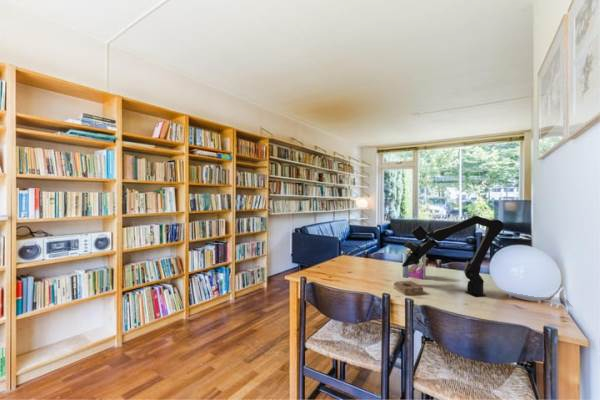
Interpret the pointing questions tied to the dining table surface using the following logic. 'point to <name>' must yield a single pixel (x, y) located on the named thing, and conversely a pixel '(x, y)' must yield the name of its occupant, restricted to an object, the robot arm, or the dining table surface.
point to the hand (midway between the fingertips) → (402, 265)
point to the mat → (407, 281)
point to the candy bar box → (417, 268)
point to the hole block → (408, 288)
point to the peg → (405, 269)
